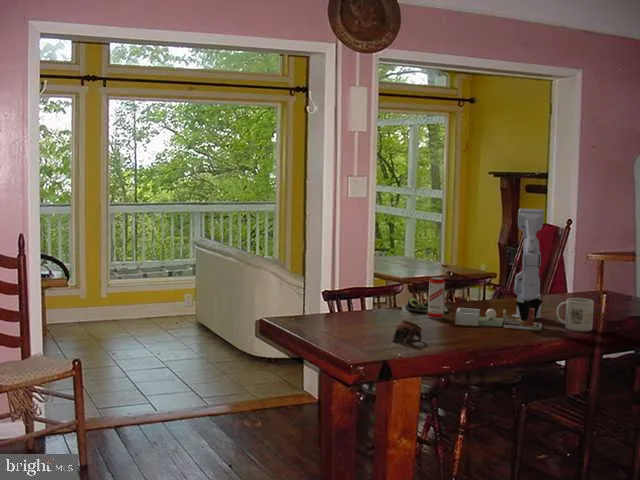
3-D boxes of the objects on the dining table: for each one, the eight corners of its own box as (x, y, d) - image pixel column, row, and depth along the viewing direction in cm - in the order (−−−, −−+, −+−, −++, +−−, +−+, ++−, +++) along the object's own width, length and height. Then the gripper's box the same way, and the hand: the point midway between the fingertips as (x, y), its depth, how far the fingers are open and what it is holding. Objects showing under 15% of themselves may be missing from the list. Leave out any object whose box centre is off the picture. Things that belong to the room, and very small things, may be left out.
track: (541, 325, 296) (541, 320, 296) (541, 330, 287) (542, 325, 287) (477, 320, 302) (478, 315, 302) (476, 325, 293) (476, 320, 293)
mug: (577, 332, 286) (579, 303, 285) (553, 325, 296) (555, 297, 295) (597, 330, 291) (599, 301, 290) (573, 323, 301) (575, 296, 300)
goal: (479, 320, 303) (479, 309, 302) (477, 326, 292) (478, 314, 292) (457, 318, 305) (457, 307, 305) (455, 324, 294) (455, 312, 294)
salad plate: (445, 306, 333) (445, 296, 332) (457, 315, 315) (458, 303, 315) (401, 306, 330) (401, 296, 330) (411, 315, 312) (412, 303, 312)
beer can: (442, 319, 303) (444, 279, 301) (426, 318, 304) (428, 278, 302) (444, 316, 309) (445, 277, 307) (428, 315, 310) (430, 276, 308)
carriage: (536, 325, 295) (537, 307, 295) (536, 328, 289) (537, 310, 289) (502, 322, 298) (503, 305, 298) (502, 325, 292) (503, 308, 292)
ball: (490, 317, 299) (491, 307, 299) (498, 319, 296) (498, 309, 295) (483, 318, 297) (483, 308, 297) (490, 320, 294) (491, 310, 293)
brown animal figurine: (387, 340, 267) (396, 319, 269) (410, 352, 268) (419, 330, 270) (398, 339, 256) (407, 317, 257) (422, 351, 257) (432, 329, 259)
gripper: (529, 280, 299) (527, 315, 301) (511, 284, 289) (509, 319, 290) (546, 283, 295) (544, 318, 296) (528, 286, 284) (526, 322, 285)
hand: (528, 319), depth 293 cm, fingers open, 6 cm apart
